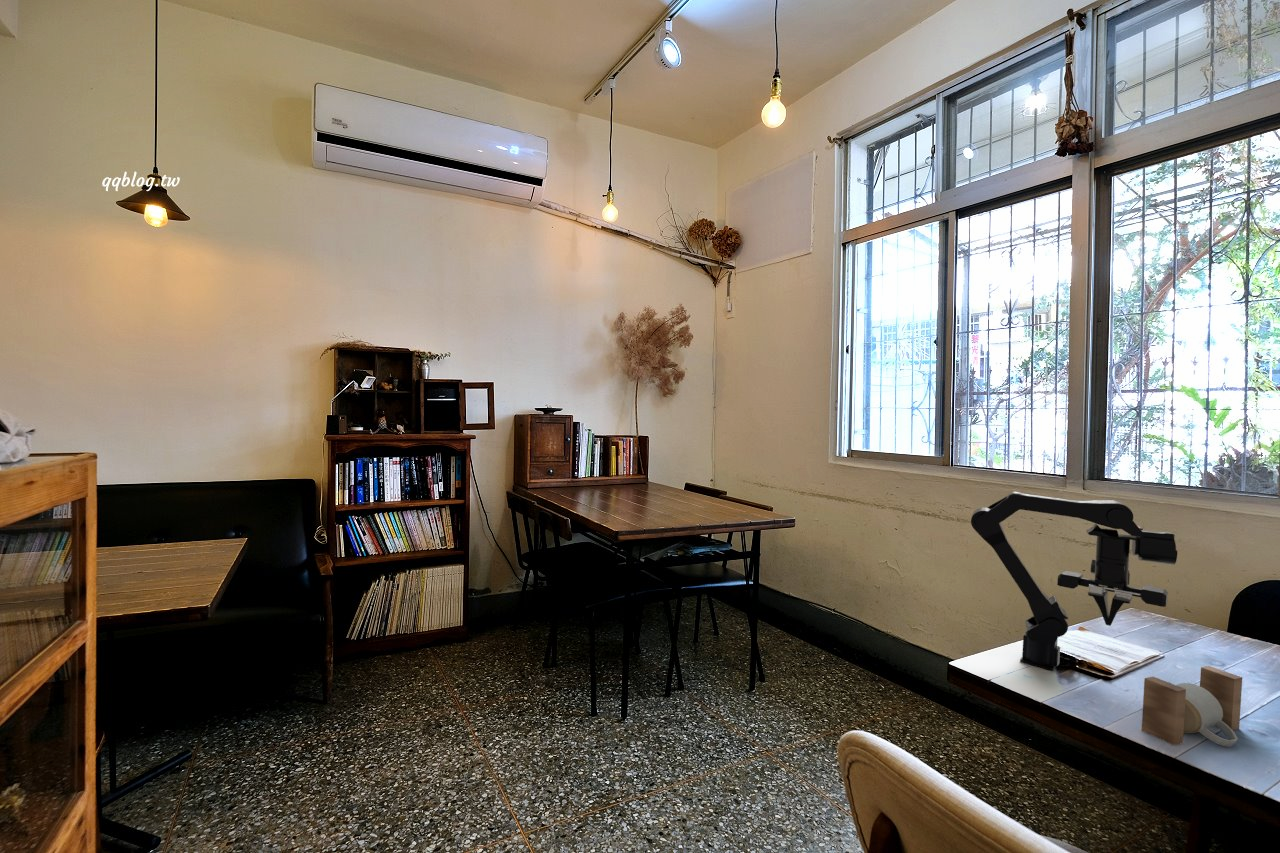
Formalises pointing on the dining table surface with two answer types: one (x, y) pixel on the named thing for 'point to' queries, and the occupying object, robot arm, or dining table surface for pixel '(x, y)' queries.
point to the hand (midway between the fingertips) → (1108, 625)
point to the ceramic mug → (1204, 714)
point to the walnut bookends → (1169, 703)
